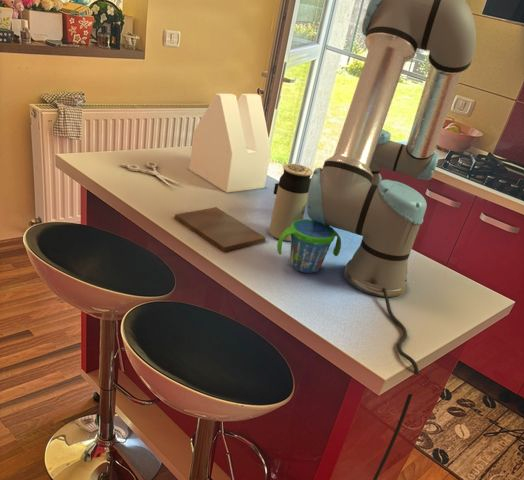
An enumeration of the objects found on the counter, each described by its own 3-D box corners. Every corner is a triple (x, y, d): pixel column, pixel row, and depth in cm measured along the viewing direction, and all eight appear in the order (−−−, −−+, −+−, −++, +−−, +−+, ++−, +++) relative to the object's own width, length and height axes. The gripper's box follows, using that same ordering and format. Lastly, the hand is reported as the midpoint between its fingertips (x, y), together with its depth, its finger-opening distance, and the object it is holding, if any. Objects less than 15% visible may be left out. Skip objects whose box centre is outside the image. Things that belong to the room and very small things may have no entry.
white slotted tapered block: (189, 169, 174) (198, 85, 159) (227, 165, 183) (238, 85, 168) (226, 192, 163) (239, 104, 149) (264, 187, 173) (279, 104, 158)
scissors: (149, 160, 171) (191, 182, 162) (149, 162, 172) (190, 185, 162) (120, 163, 164) (163, 187, 155) (120, 166, 165) (162, 190, 155)
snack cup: (277, 274, 127) (286, 234, 121) (269, 253, 135) (277, 215, 129) (339, 280, 131) (351, 241, 125) (328, 259, 139) (339, 222, 133)
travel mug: (264, 234, 144) (277, 167, 133) (276, 225, 150) (290, 160, 139) (291, 244, 142) (306, 177, 131) (302, 235, 148) (318, 170, 137)
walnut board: (264, 241, 140) (265, 237, 140) (223, 251, 131) (224, 247, 131) (215, 211, 151) (216, 206, 150) (174, 218, 142) (174, 214, 141)
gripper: (374, 218, 151) (326, 232, 137) (307, 185, 163) (257, 194, 149) (382, 192, 146) (334, 203, 132) (313, 160, 159) (262, 167, 145)
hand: (293, 198), depth 141 cm, fingers open, 13 cm apart
